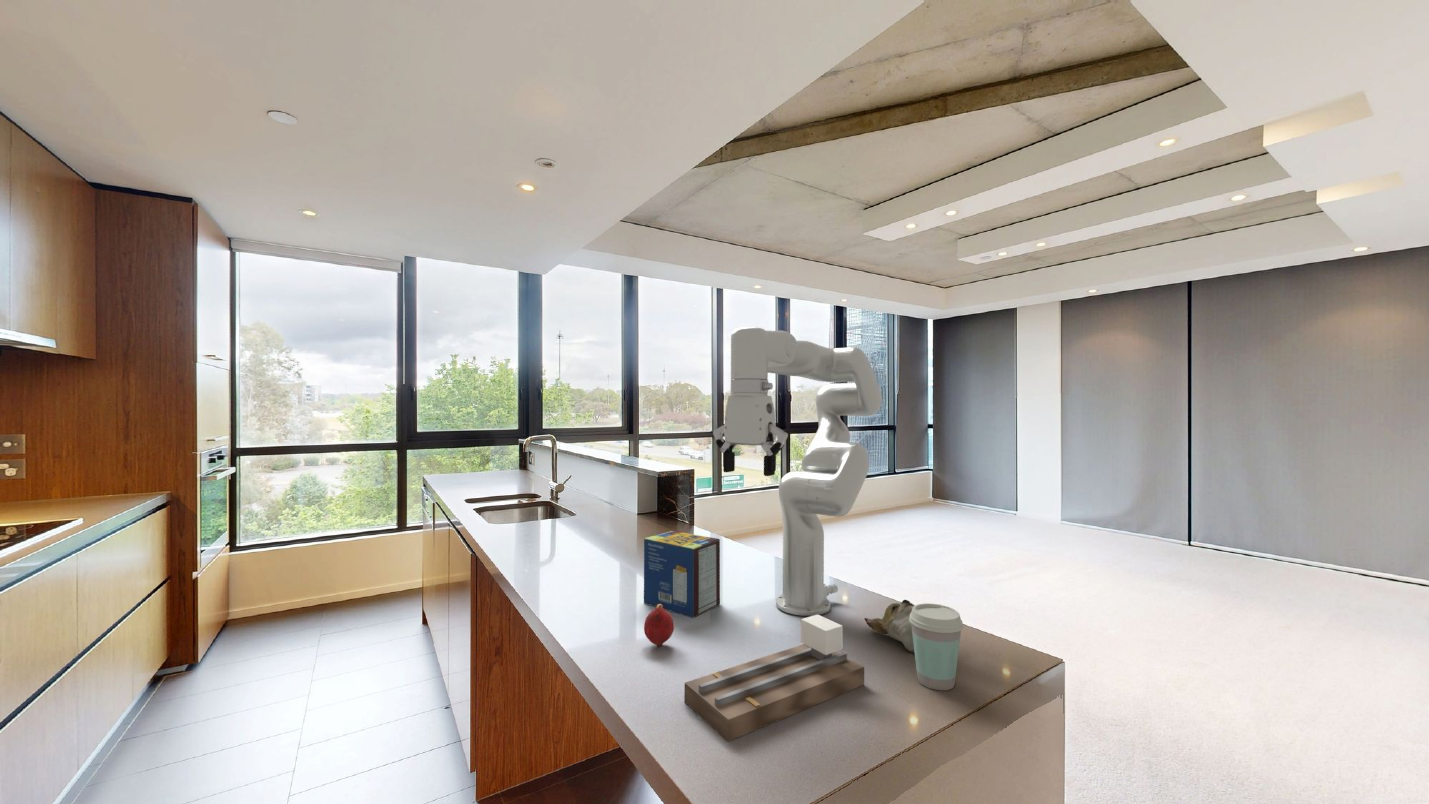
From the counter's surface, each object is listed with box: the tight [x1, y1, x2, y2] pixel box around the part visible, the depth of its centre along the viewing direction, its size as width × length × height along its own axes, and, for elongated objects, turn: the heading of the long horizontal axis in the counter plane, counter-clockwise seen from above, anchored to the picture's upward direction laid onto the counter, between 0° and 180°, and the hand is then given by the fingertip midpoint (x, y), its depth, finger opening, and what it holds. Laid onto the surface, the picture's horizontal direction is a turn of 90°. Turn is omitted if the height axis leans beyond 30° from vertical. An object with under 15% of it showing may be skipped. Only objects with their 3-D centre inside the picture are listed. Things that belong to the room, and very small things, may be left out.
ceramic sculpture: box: [864, 599, 915, 653], centre depth 108 cm, size 11×9×15 cm
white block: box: [800, 614, 844, 660], centre depth 94 cm, size 4×6×6 cm, turn 34°
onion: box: [643, 604, 675, 647], centre depth 105 cm, size 6×6×8 cm
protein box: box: [643, 530, 721, 619], centre depth 128 cm, size 10×15×16 cm
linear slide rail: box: [683, 643, 865, 742], centre depth 88 cm, size 28×12×4 cm, turn 124°
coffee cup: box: [909, 602, 964, 691], centre depth 92 cm, size 8×9×12 cm
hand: (748, 473), depth 109 cm, fingers open, 9 cm apart
